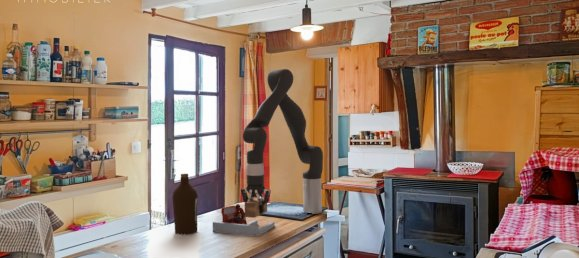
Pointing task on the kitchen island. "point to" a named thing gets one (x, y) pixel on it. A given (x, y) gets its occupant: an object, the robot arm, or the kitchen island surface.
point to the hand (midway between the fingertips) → (256, 212)
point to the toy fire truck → (233, 215)
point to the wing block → (253, 208)
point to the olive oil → (185, 207)
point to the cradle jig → (242, 228)
